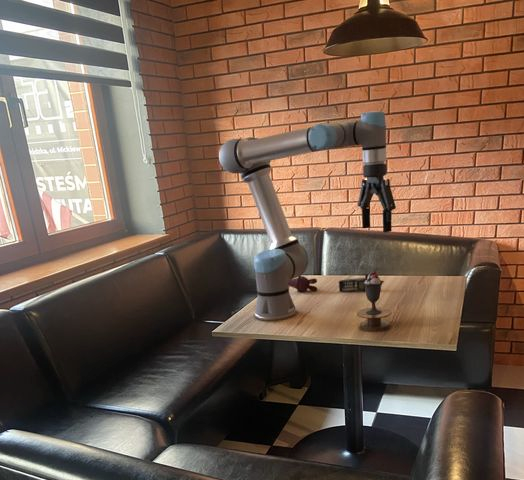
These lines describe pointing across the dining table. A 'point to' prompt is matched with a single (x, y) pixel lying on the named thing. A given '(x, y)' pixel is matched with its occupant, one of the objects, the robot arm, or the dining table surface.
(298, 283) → the chocolate bunny
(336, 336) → the dining table surface
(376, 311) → the sundae
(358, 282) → the mobile phone
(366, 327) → the stand
